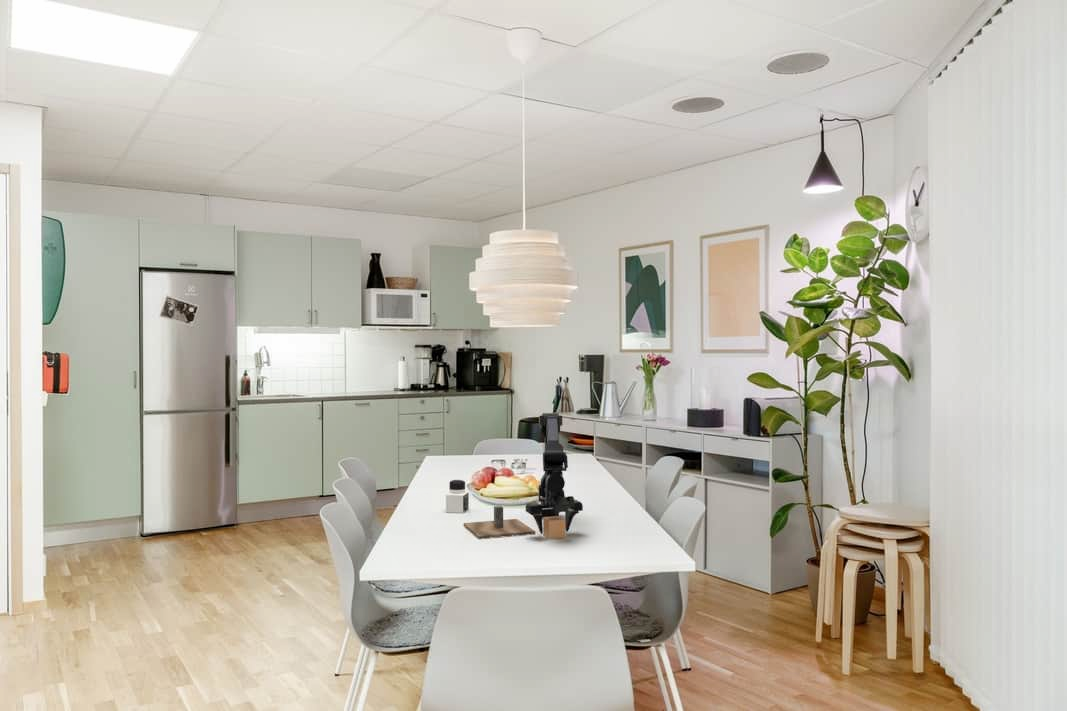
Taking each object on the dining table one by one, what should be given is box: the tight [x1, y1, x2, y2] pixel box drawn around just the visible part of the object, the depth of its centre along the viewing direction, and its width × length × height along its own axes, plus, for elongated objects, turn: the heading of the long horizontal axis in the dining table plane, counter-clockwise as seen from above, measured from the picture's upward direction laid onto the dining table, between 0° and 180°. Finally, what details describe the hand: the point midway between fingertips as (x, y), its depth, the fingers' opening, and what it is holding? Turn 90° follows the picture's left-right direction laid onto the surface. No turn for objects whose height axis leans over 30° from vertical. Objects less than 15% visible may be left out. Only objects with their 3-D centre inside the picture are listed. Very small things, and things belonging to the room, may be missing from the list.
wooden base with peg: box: [463, 505, 536, 540], centre depth 270 cm, size 20×20×8 cm
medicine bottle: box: [445, 479, 470, 514], centre depth 301 cm, size 7×7×12 cm
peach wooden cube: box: [542, 515, 567, 540], centre depth 261 cm, size 6×6×6 cm
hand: (554, 532), depth 261 cm, fingers open, 9 cm apart
